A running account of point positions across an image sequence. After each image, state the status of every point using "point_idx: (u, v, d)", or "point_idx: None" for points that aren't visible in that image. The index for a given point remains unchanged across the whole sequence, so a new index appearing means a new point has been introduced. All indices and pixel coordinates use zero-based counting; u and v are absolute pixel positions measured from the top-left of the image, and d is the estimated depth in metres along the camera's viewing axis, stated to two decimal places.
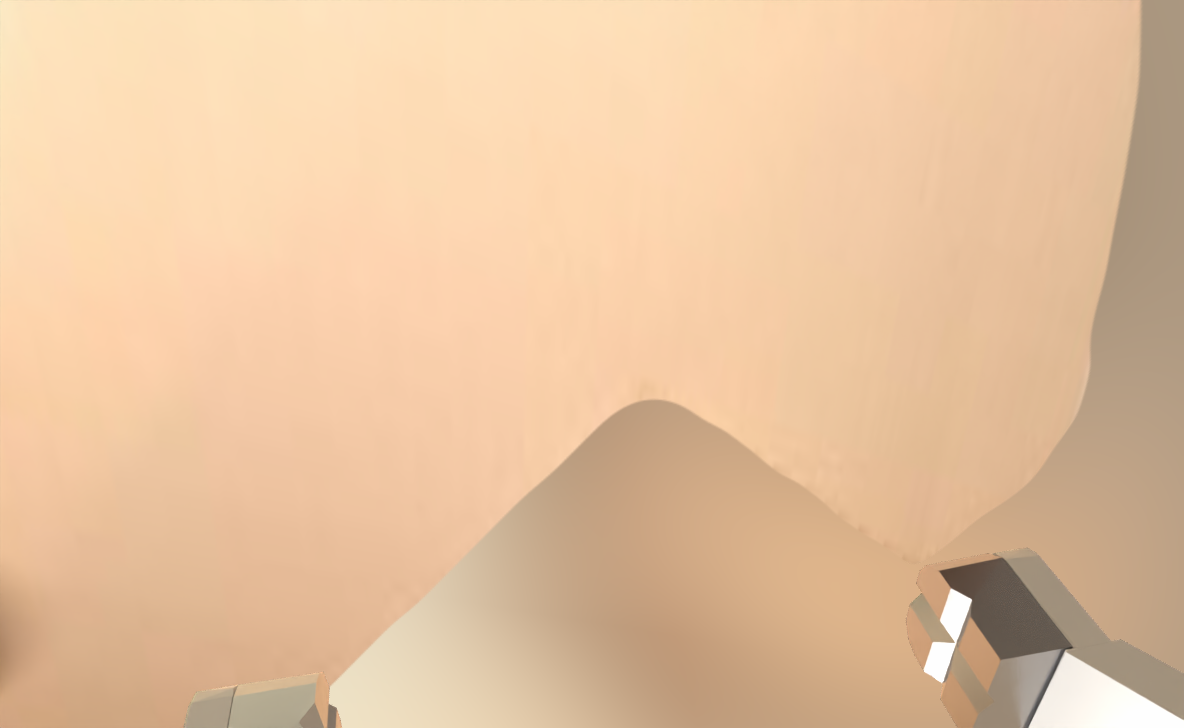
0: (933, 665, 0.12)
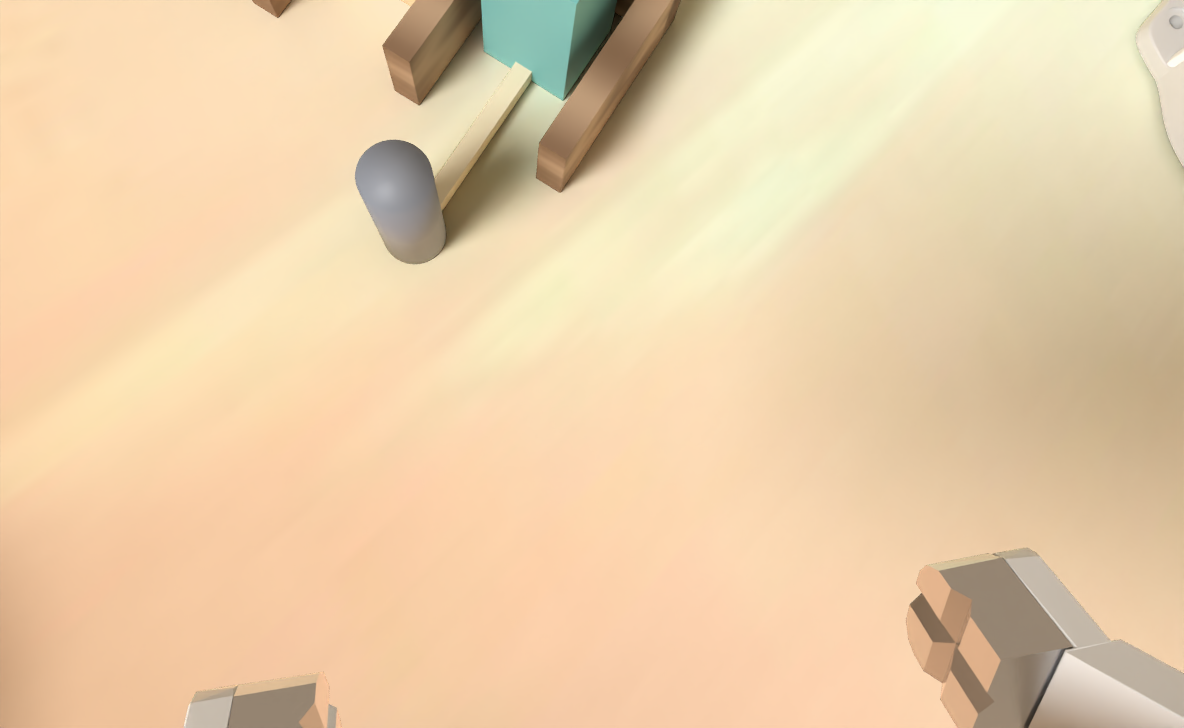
0: (933, 665, 0.12)
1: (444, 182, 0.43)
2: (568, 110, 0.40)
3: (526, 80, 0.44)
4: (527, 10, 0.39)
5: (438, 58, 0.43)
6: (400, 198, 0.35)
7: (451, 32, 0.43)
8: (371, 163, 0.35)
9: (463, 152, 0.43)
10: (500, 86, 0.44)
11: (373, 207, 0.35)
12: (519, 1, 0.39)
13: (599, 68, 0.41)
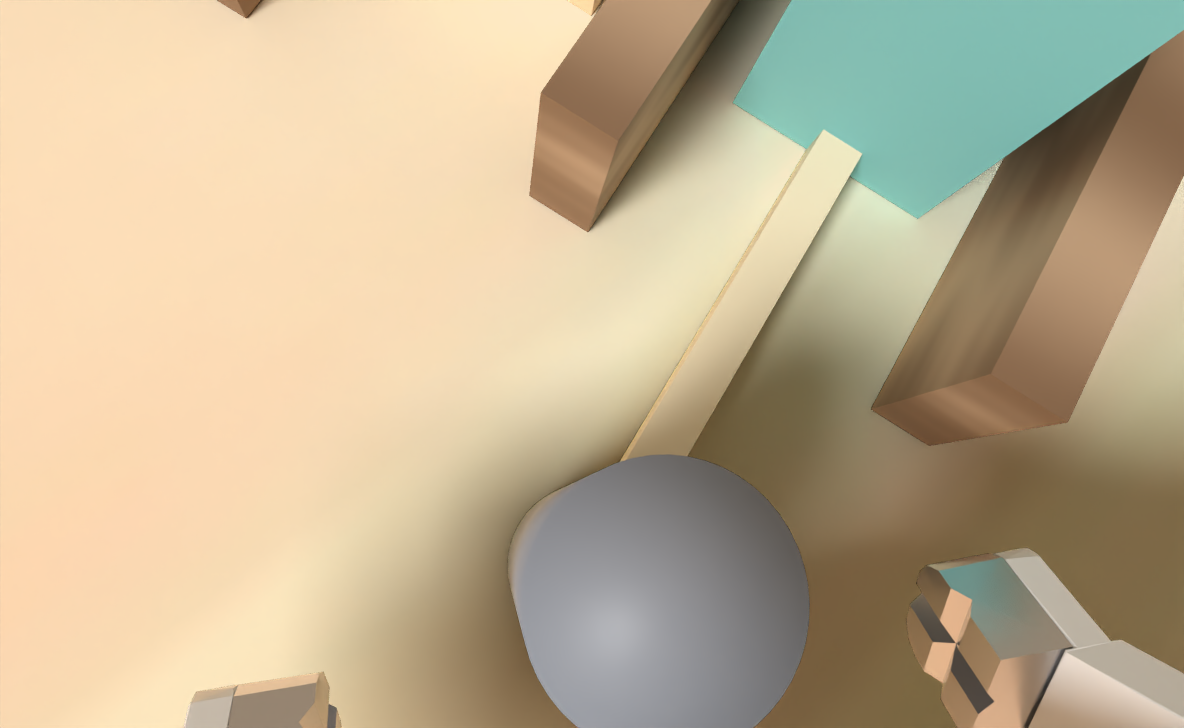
0: (933, 665, 0.12)
1: (669, 439, 0.17)
2: (1058, 277, 0.14)
3: None
4: None
5: (650, 122, 0.17)
6: (697, 697, 0.09)
7: (688, 58, 0.17)
8: (581, 554, 0.09)
9: (712, 358, 0.17)
10: (792, 190, 0.18)
11: None
12: None
13: (1125, 159, 0.15)
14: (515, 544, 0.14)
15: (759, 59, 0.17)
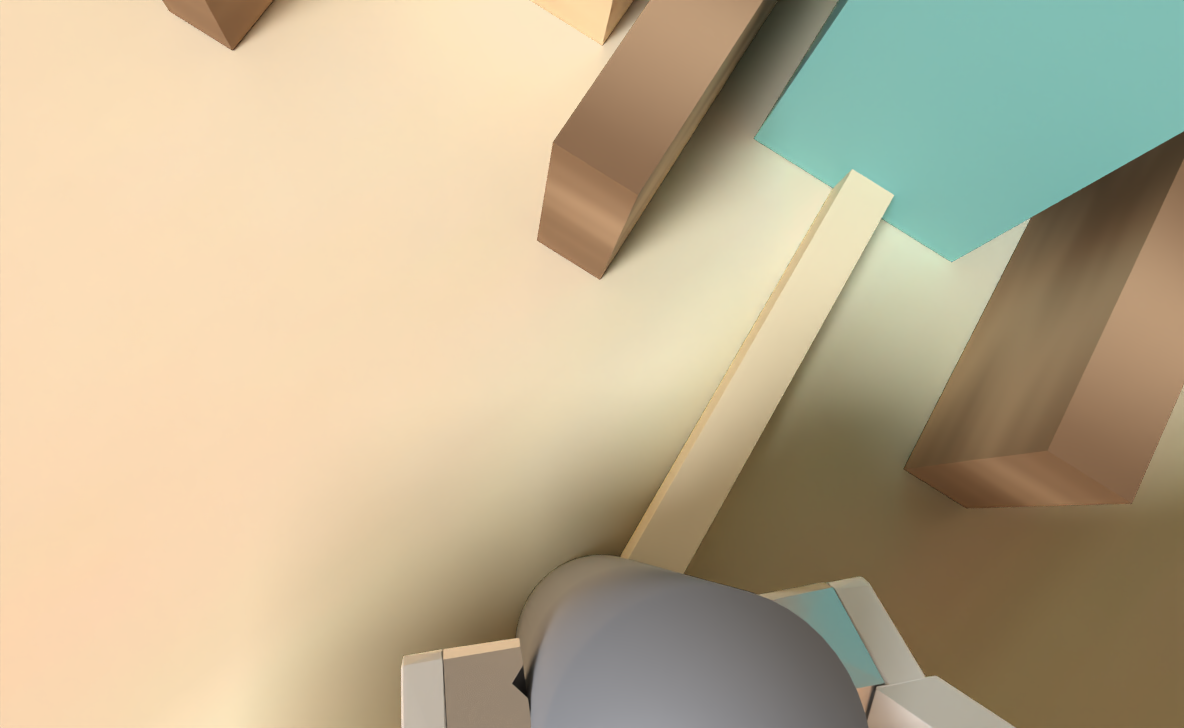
0: None
1: (690, 508, 0.15)
2: (1119, 342, 0.13)
3: (879, 217, 0.17)
4: (1046, 36, 0.12)
5: (667, 164, 0.16)
6: None
7: (710, 96, 0.15)
8: (608, 706, 0.08)
9: (736, 419, 0.16)
10: (820, 235, 0.17)
11: None
12: (1028, 8, 0.12)
13: None
14: (525, 638, 0.13)
15: (785, 96, 0.16)
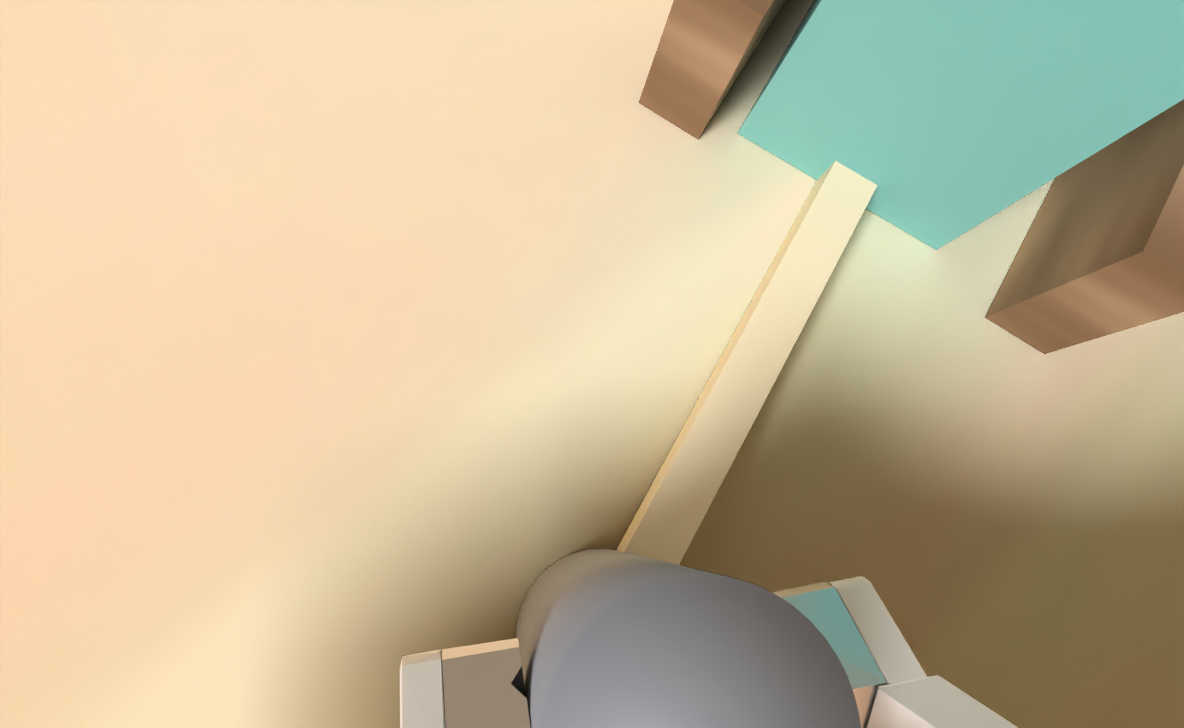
0: None
1: (683, 500, 0.16)
2: None
3: (863, 207, 0.17)
4: (1019, 26, 0.12)
5: (768, 21, 0.17)
6: None
7: None
8: (604, 695, 0.08)
9: (726, 411, 0.16)
10: (805, 227, 0.17)
11: None
12: None
13: None
14: (524, 632, 0.13)
15: (766, 90, 0.16)
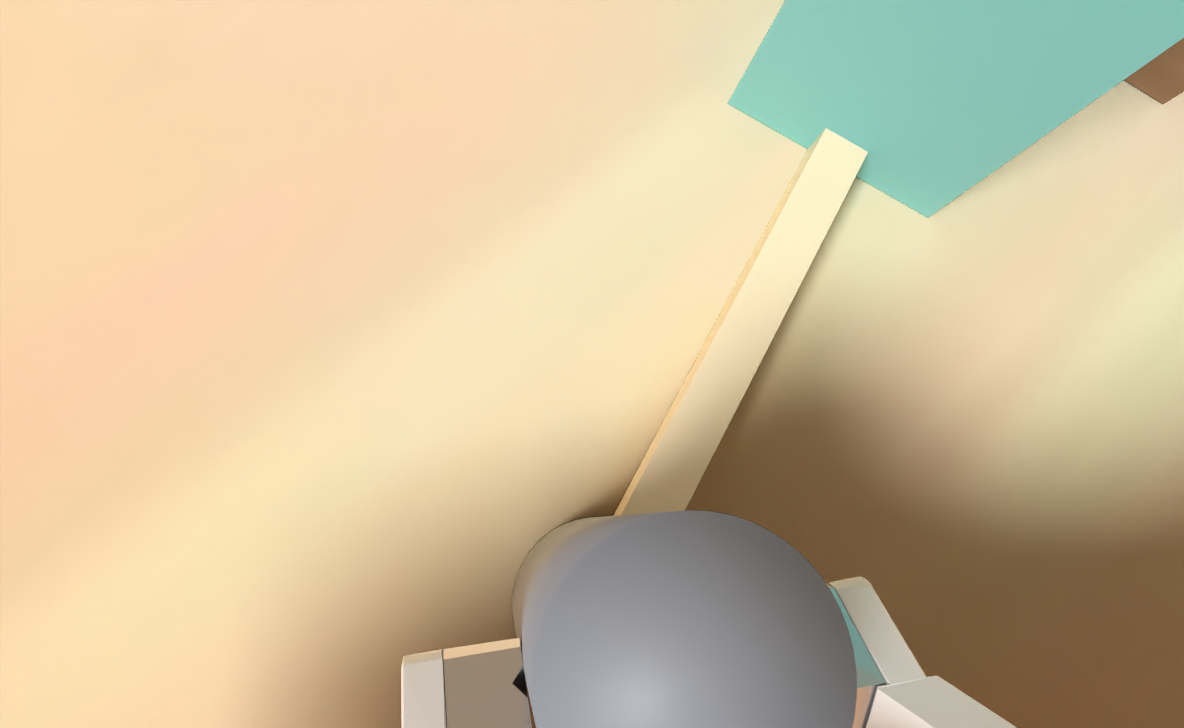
0: None
1: (678, 466, 0.16)
2: None
3: (854, 174, 0.17)
4: None
5: None
6: None
7: None
8: (596, 630, 0.08)
9: (720, 377, 0.16)
10: (796, 193, 0.17)
11: None
12: None
13: None
14: (519, 594, 0.13)
15: (755, 56, 0.16)
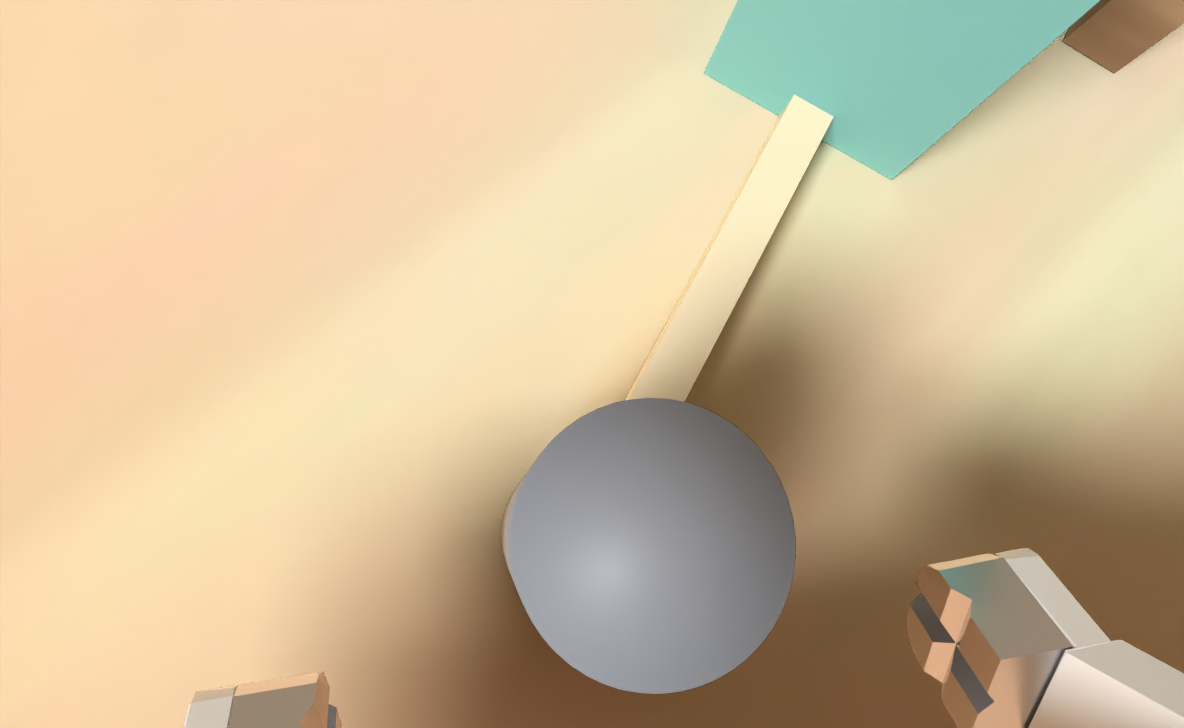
0: (933, 665, 0.12)
1: None
2: None
3: None
4: None
5: None
6: (688, 632, 0.09)
7: None
8: (568, 498, 0.09)
9: (694, 324, 0.17)
10: (766, 155, 0.18)
11: None
12: None
13: None
14: (506, 511, 0.14)
15: (727, 26, 0.18)
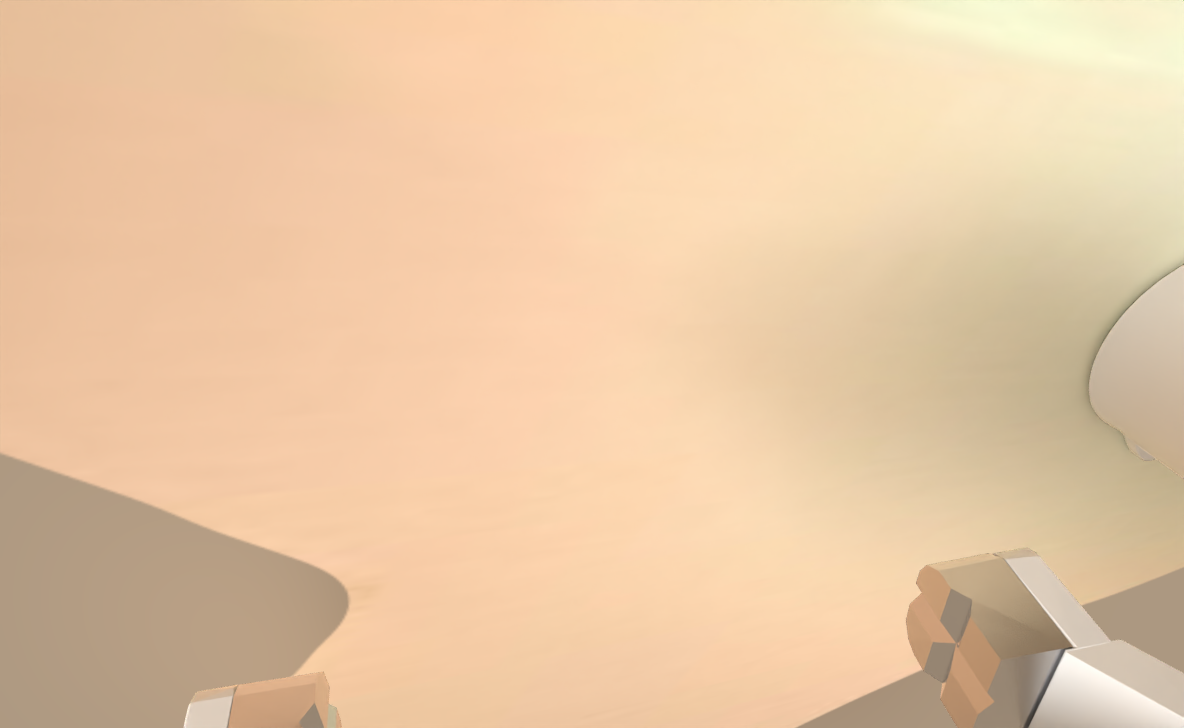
0: (933, 665, 0.12)
1: None
2: None
3: None
4: None
5: None
6: None
7: None
8: None
9: None
10: None
11: None
12: None
13: None
14: None
15: None
